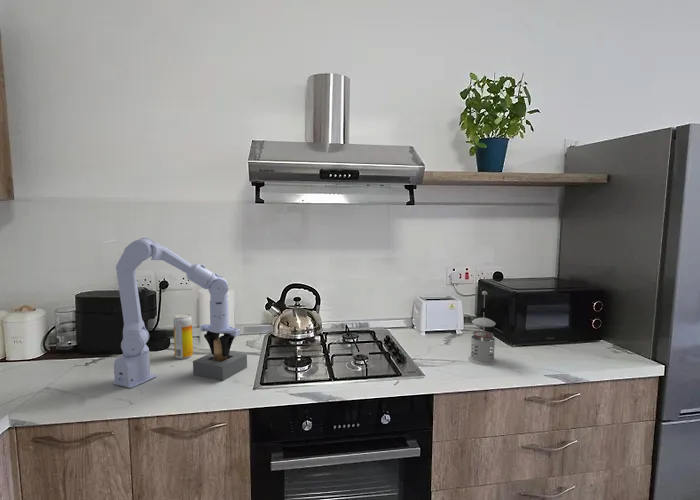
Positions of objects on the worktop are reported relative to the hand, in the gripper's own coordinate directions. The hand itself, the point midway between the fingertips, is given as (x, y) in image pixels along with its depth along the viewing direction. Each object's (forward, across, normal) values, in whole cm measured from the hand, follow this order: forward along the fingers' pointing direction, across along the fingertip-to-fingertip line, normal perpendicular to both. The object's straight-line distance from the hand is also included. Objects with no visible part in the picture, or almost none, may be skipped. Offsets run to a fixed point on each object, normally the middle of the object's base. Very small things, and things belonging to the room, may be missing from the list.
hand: (220, 354), depth 134 cm
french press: (+6, -78, -46) cm, 91 cm away
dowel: (+3, 0, 0) cm, 3 cm away
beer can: (+6, +21, -5) cm, 22 cm away
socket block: (+6, 0, 0) cm, 6 cm away
